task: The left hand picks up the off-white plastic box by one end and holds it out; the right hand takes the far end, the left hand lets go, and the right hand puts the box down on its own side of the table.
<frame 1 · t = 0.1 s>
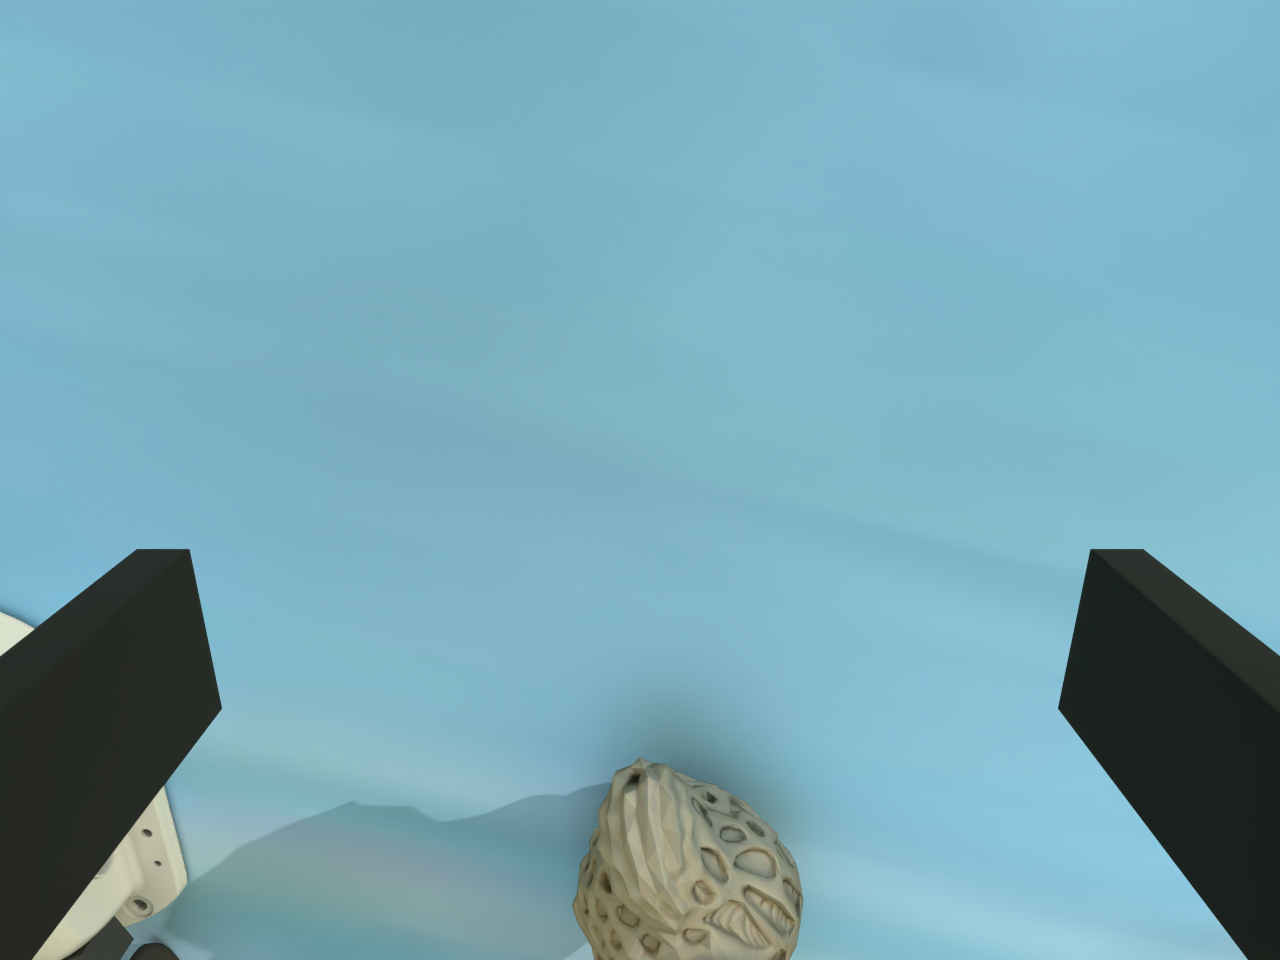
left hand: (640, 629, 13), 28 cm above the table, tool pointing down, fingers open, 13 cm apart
cream textured rounded piece: (686, 831, 49), on the table
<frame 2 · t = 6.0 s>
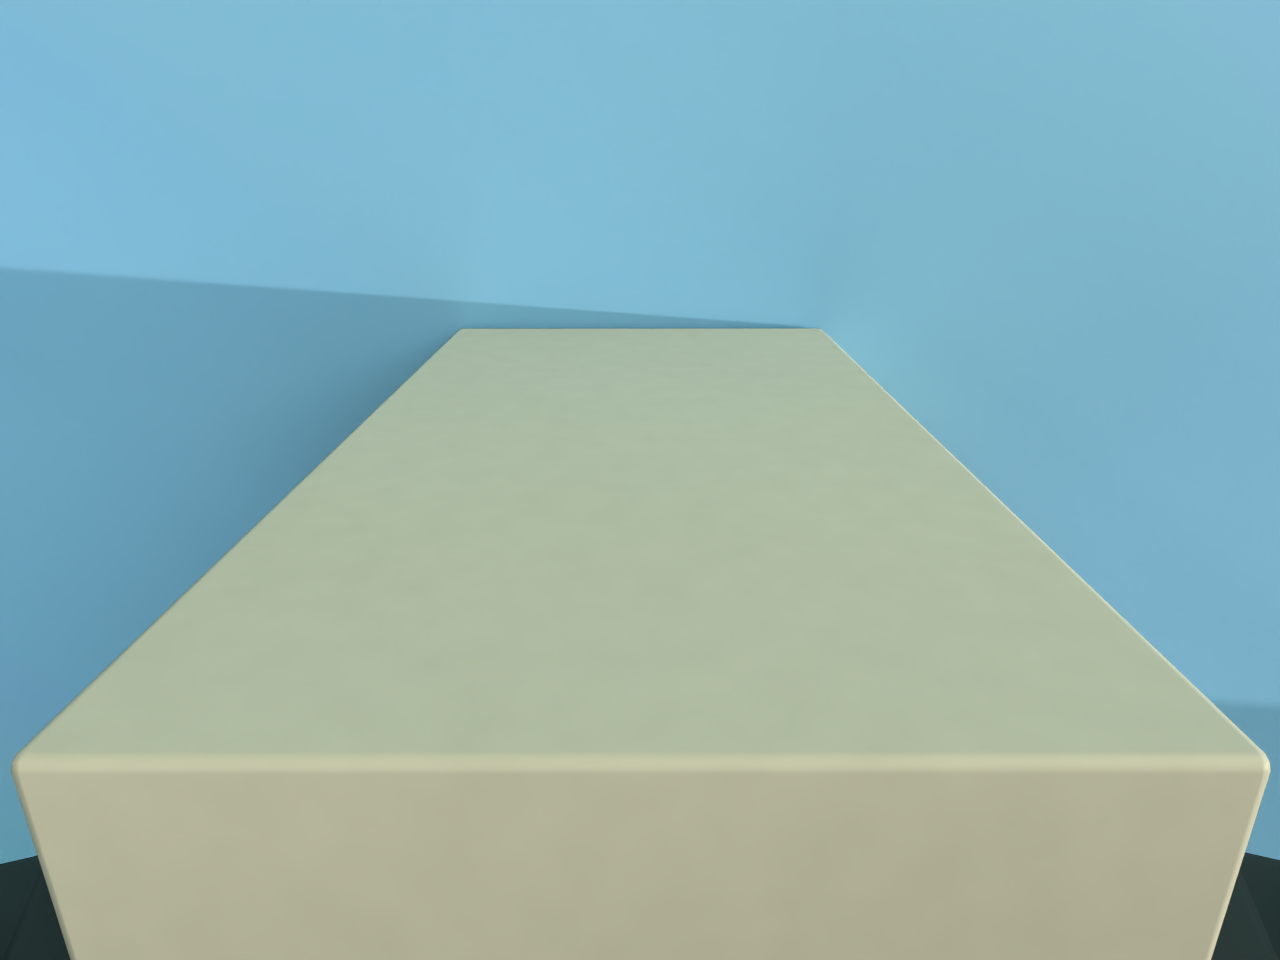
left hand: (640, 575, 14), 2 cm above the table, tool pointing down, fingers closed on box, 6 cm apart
box: (640, 910, 19), on the table, touching left hand
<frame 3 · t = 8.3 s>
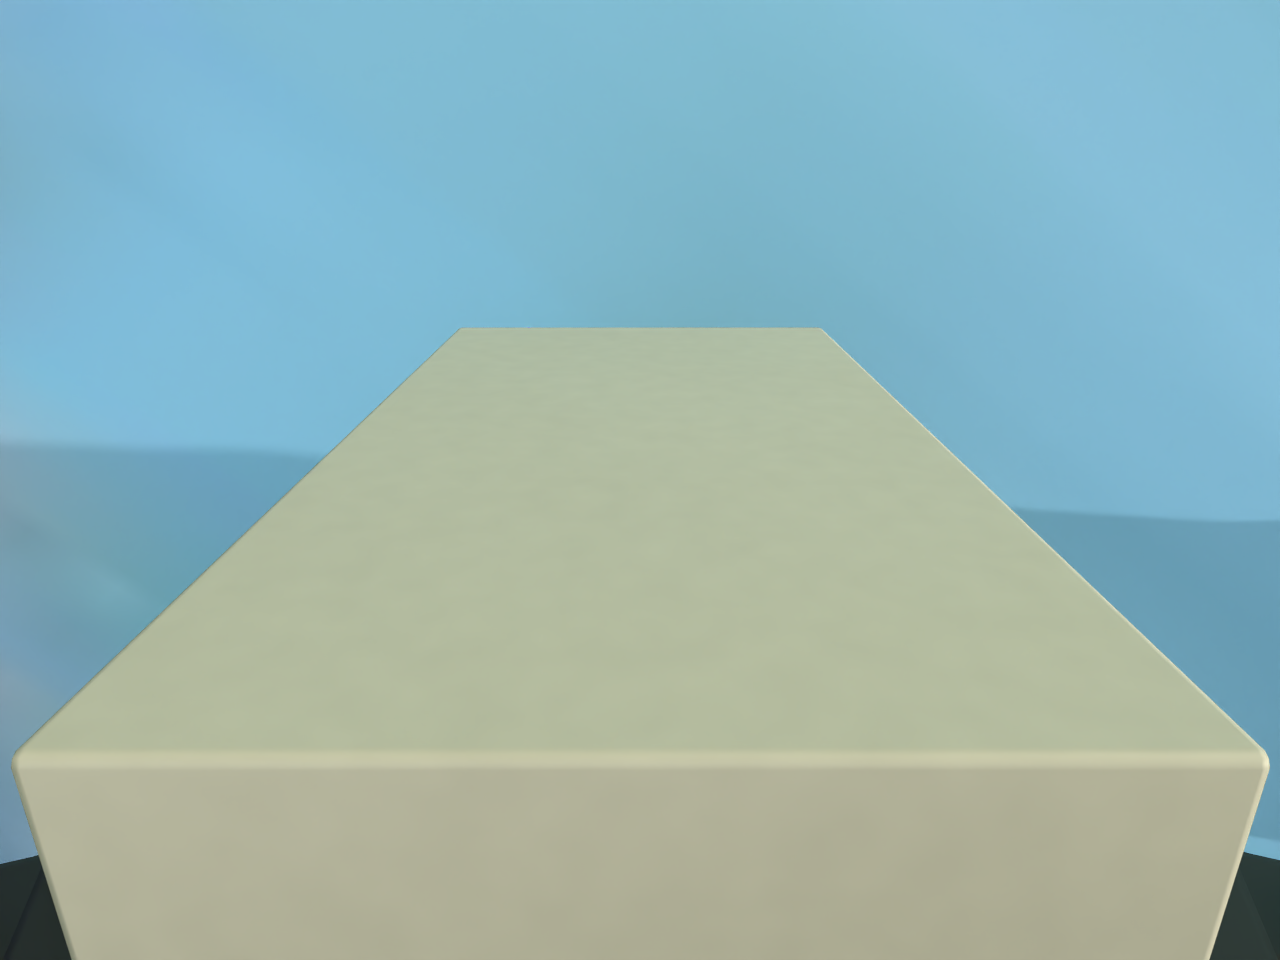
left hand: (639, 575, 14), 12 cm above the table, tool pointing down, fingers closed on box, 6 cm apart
box: (640, 909, 19), point 10 cm above the table, touching left hand
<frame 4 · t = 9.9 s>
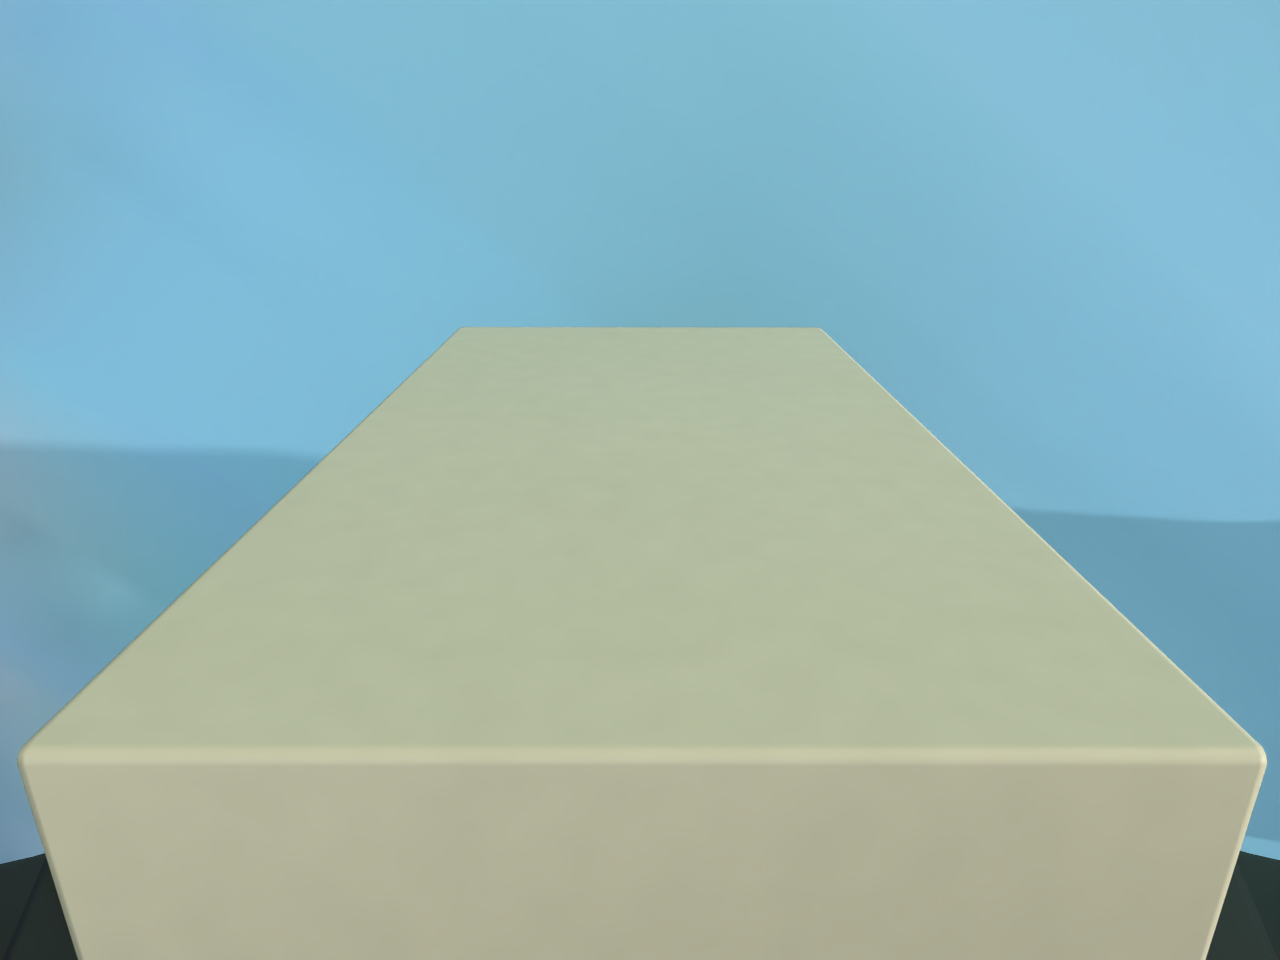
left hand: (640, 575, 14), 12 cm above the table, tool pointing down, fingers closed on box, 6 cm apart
box: (639, 908, 19), point 10 cm above the table, touching left hand, right hand
when the left hand's fingers open (12 cm above the table, at t = 10.9 s): box stays where it is, held by the right hand.
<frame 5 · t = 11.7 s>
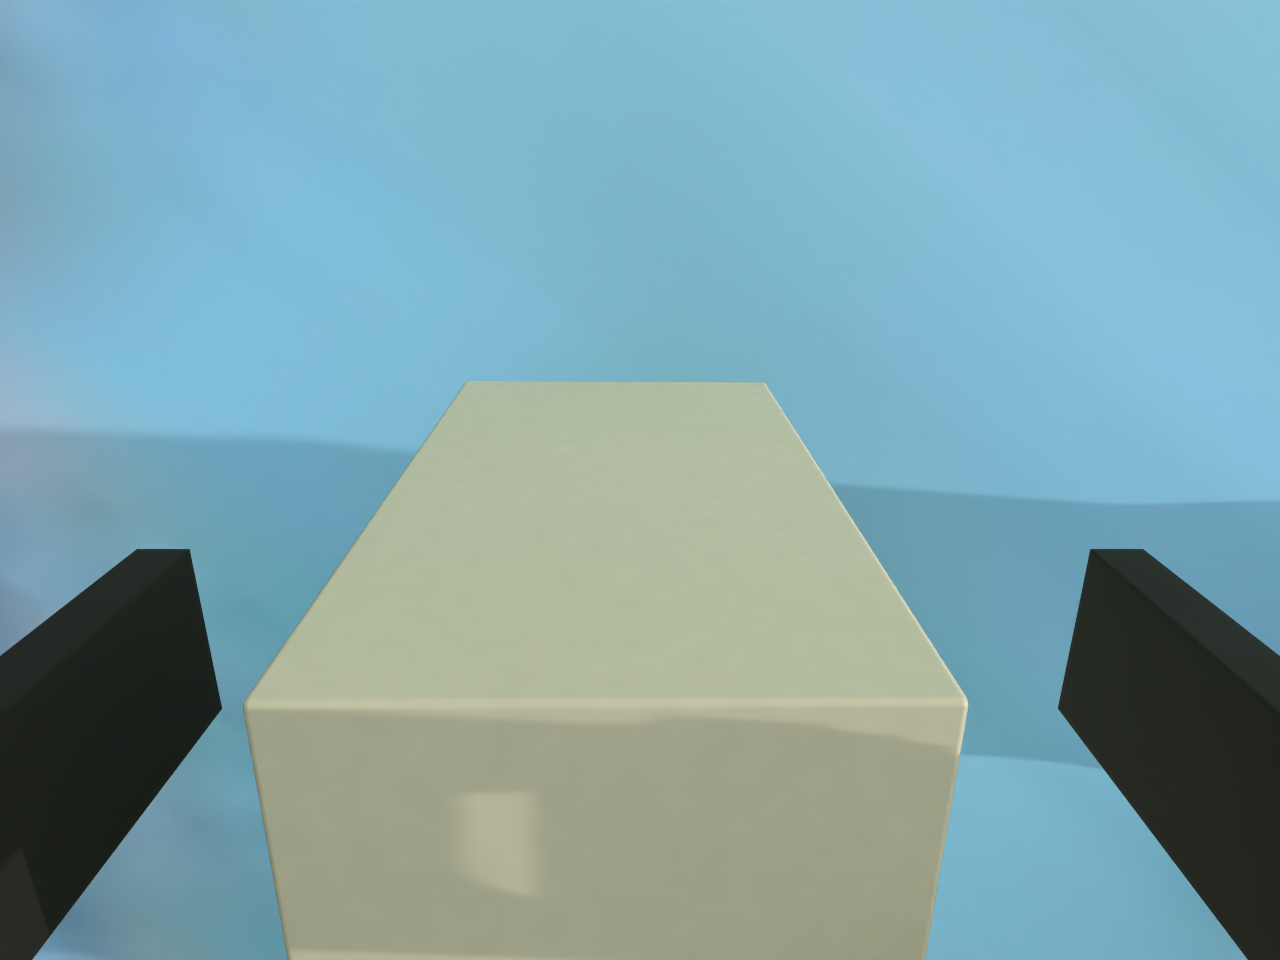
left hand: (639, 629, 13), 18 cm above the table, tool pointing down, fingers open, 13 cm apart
box: (615, 872, 22), point 12 cm above the table, touching right hand
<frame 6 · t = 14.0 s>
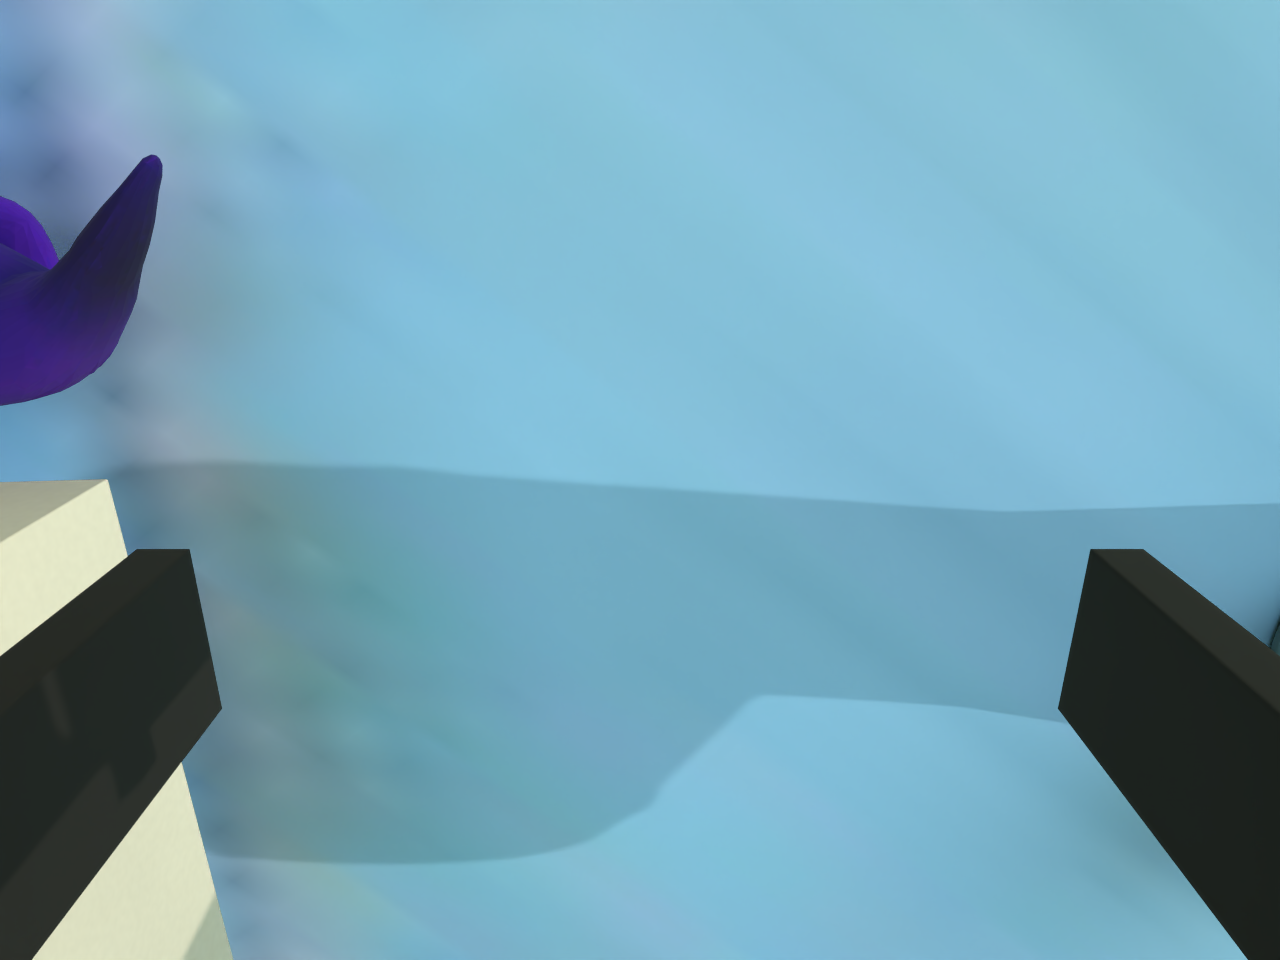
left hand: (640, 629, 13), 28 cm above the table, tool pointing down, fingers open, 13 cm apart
box: (111, 794, 33), point 13 cm above the table, touching right hand
when the right hand's fingers open (7 cm above the table, at t = 18.5 s): box stays where it is, resting on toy.
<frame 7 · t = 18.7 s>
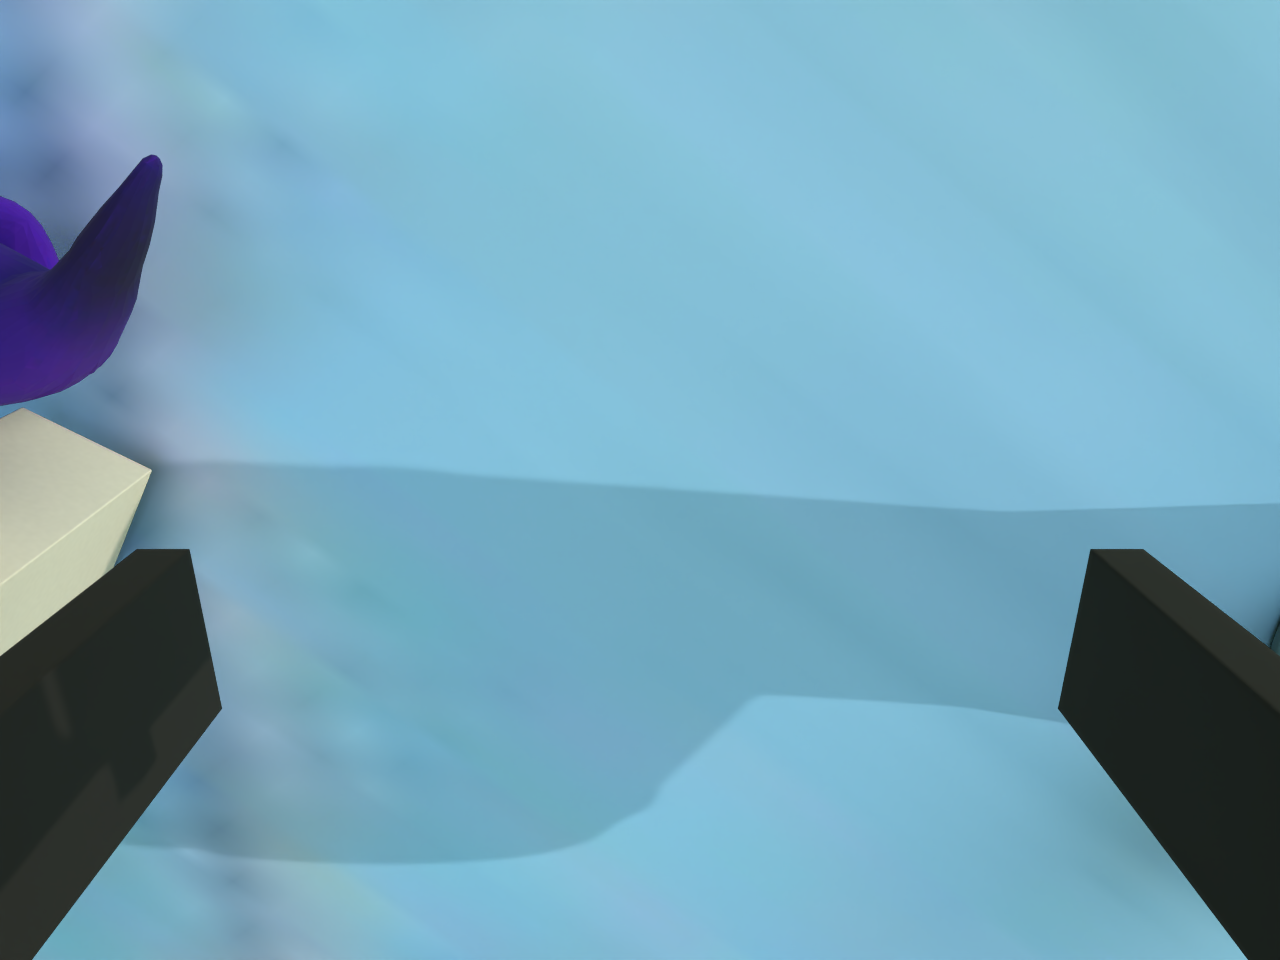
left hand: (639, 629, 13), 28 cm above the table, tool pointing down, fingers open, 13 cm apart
box: (17, 637, 45), point 1 cm above the table, touching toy
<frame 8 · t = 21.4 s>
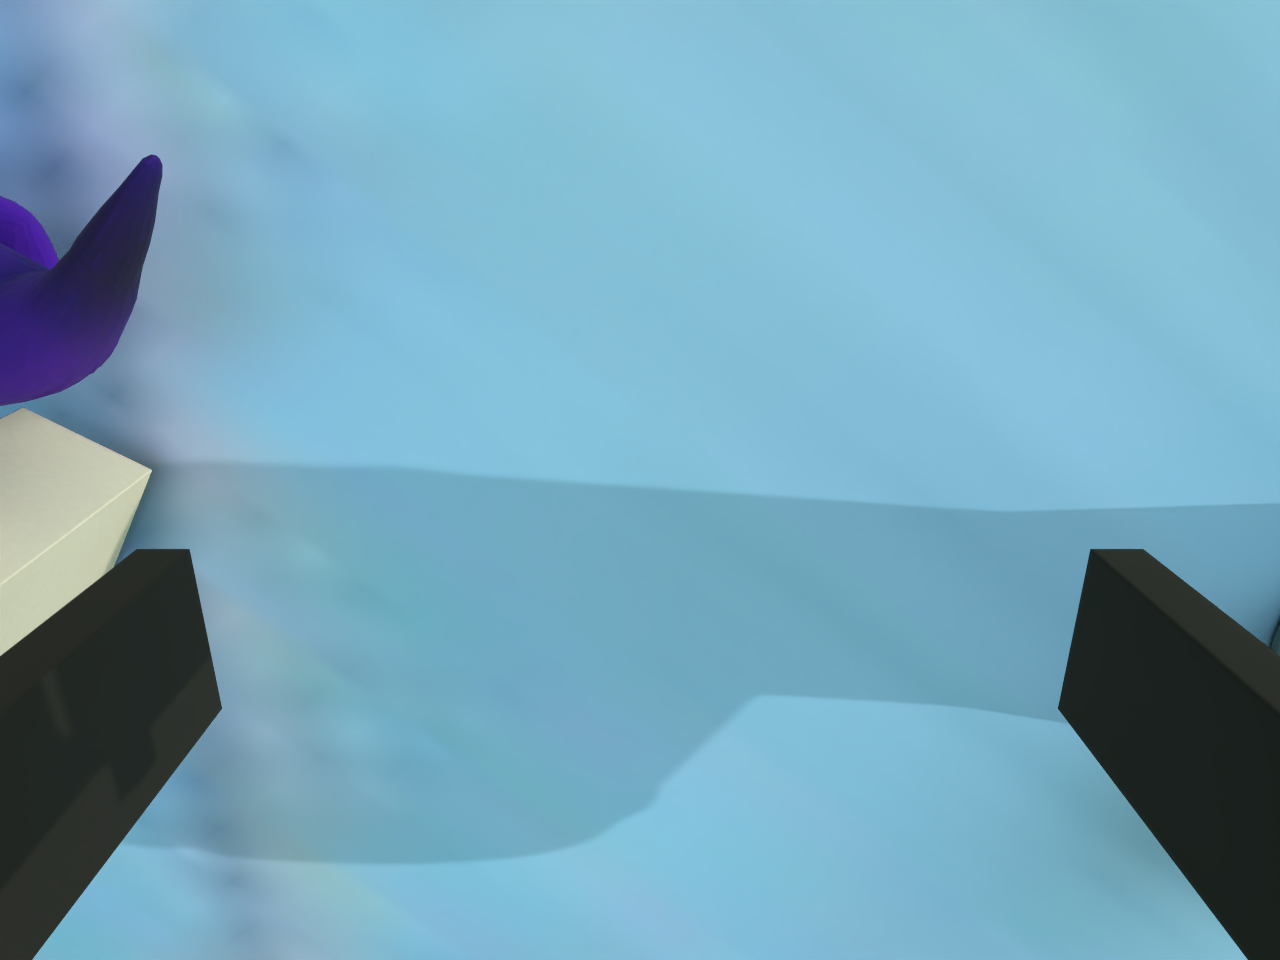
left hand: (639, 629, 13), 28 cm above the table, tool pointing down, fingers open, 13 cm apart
box: (17, 637, 45), point 1 cm above the table, touching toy
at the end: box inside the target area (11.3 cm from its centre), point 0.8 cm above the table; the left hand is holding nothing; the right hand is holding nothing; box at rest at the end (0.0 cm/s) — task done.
